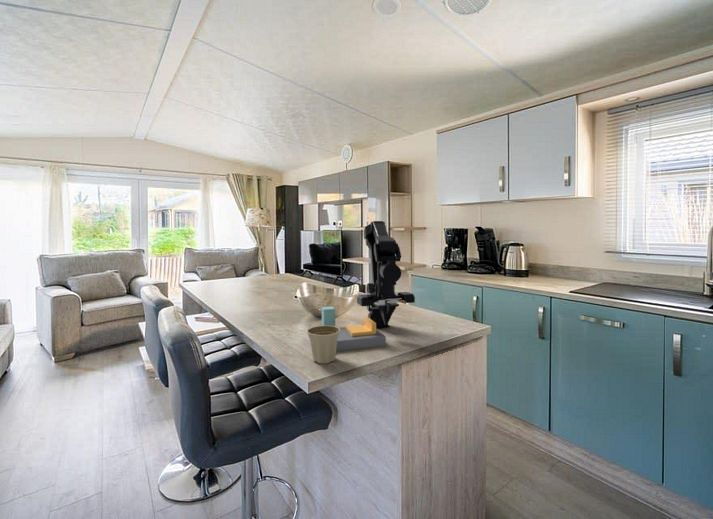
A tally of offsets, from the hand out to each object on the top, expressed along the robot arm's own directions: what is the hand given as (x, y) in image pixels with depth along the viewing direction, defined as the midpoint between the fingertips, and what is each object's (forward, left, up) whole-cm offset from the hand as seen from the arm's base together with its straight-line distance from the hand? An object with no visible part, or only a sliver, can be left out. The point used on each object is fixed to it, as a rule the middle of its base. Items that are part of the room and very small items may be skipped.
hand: (385, 324), depth 122 cm
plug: (+17, -12, -5) cm, 21 cm away
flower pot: (+24, +13, -5) cm, 28 cm away
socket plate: (+13, 0, -5) cm, 14 cm away
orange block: (+9, 0, -2) cm, 9 cm away
